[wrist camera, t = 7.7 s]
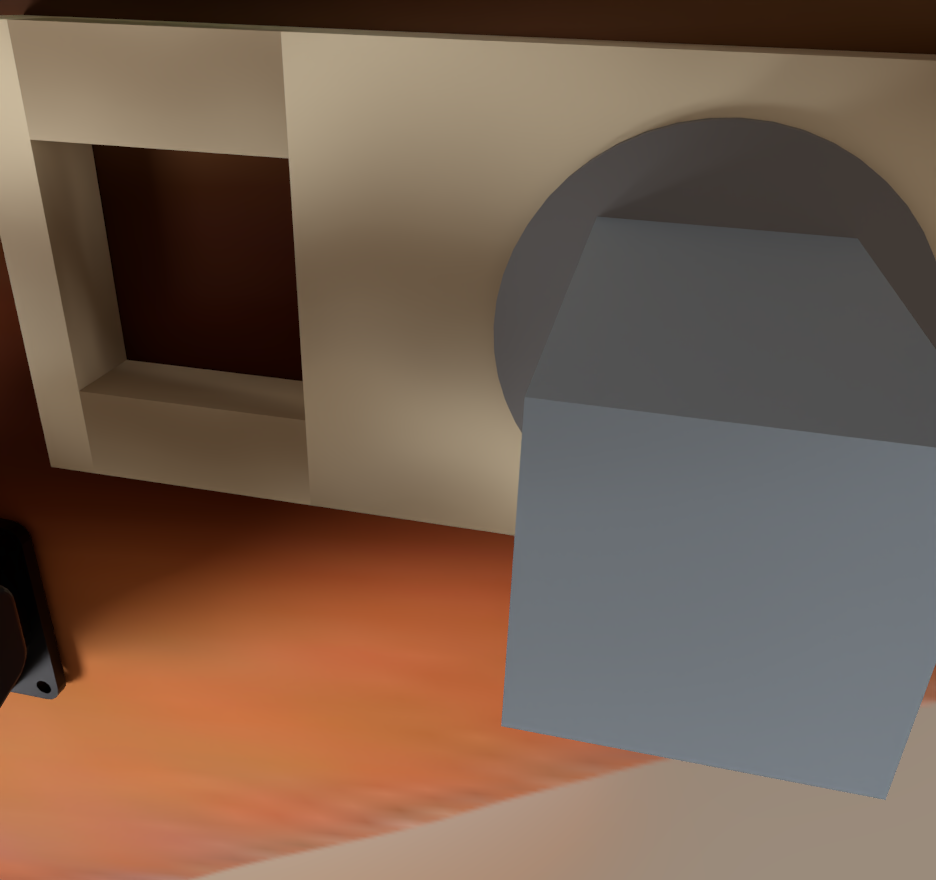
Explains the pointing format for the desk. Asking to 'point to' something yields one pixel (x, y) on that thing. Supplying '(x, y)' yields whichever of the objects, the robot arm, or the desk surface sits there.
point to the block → (728, 508)
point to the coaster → (705, 218)
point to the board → (363, 229)
